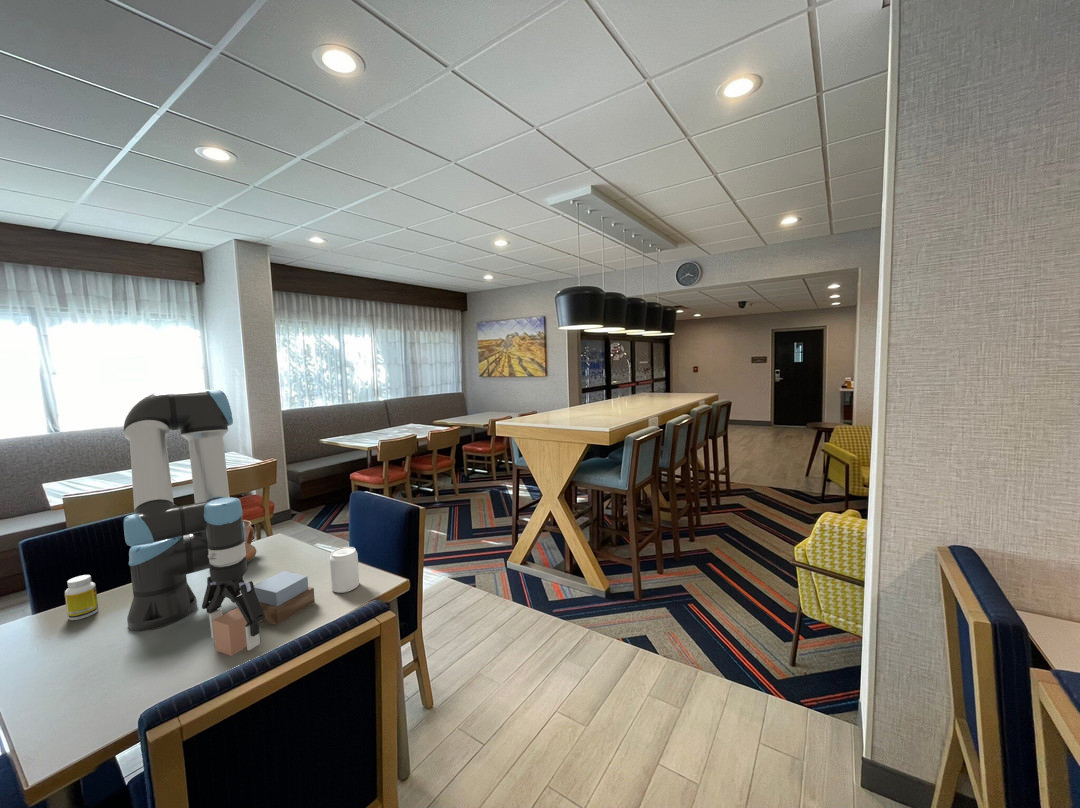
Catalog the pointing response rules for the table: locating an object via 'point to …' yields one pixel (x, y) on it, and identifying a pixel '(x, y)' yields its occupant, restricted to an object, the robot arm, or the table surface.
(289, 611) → the walnut block
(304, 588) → the slate block
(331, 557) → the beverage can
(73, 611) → the pill bottle
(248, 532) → the ceramic jug
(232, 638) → the terracotta block
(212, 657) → the table surface
